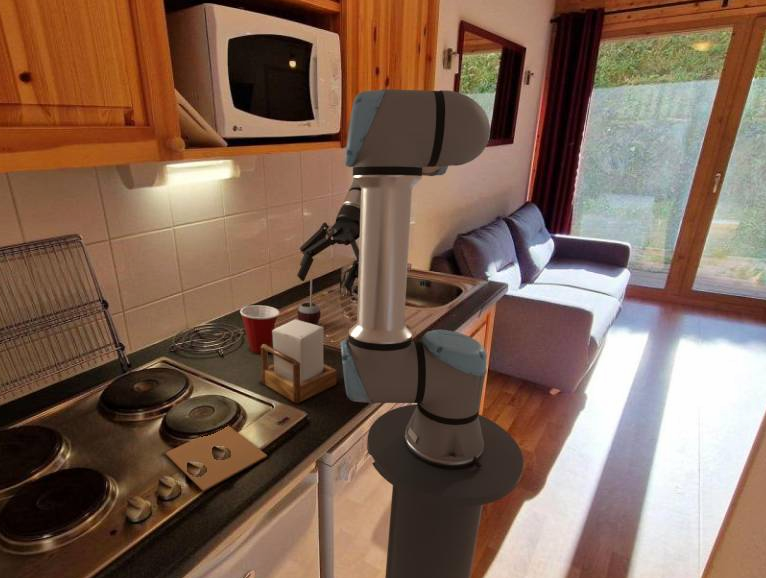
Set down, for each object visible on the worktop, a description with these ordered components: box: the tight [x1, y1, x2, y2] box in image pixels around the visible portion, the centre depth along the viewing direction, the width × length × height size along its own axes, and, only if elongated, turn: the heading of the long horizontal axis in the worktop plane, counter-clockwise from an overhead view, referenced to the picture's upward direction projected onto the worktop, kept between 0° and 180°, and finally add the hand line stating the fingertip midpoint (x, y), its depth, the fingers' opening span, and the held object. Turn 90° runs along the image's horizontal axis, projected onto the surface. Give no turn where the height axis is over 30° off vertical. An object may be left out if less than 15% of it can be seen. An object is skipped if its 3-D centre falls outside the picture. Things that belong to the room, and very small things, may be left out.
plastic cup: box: [239, 304, 280, 355], centre depth 134 cm, size 11×11×12 cm
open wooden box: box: [260, 344, 338, 405], centre depth 116 cm, size 13×13×11 cm
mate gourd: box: [297, 277, 322, 325], centre depth 147 cm, size 8×8×15 cm
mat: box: [164, 425, 268, 493], centre depth 92 cm, size 14×14×1 cm
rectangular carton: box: [272, 318, 325, 383], centre depth 115 cm, size 9×9×15 cm
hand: (323, 283), depth 118 cm, fingers open, 13 cm apart
